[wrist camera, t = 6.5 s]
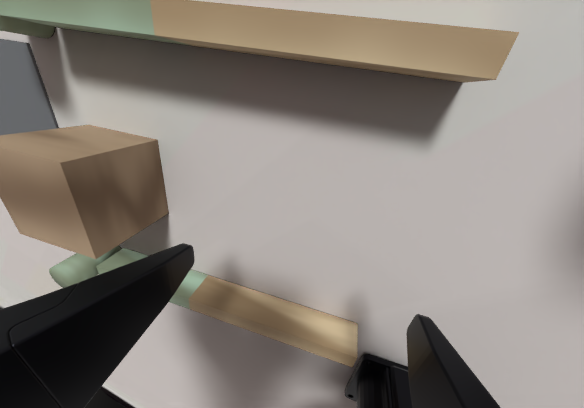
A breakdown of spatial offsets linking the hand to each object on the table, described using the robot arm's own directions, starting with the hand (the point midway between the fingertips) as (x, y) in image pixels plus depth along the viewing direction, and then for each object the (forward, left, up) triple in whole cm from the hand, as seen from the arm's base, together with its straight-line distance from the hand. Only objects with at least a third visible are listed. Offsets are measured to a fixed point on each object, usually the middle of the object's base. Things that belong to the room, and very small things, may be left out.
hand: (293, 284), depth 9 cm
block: (0, +14, -6) cm, 15 cm away
